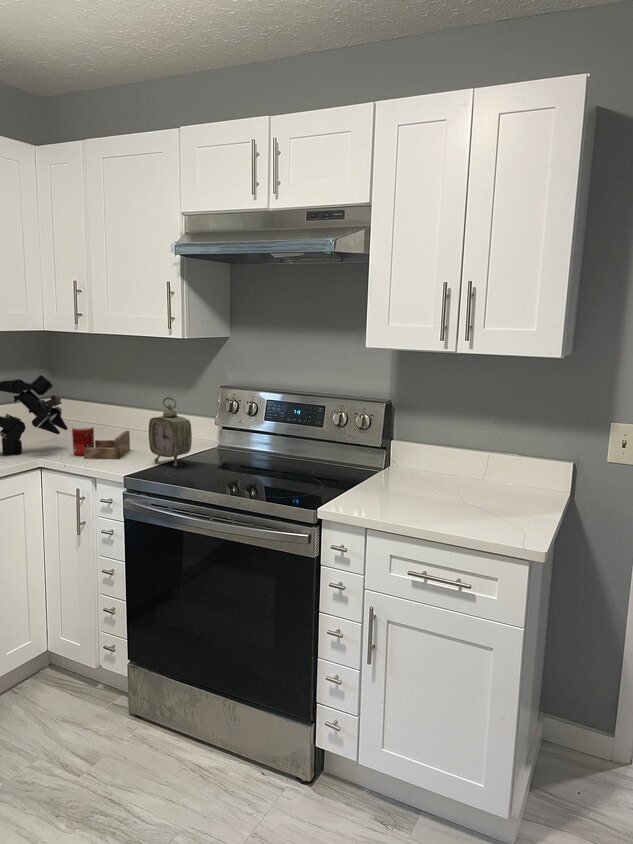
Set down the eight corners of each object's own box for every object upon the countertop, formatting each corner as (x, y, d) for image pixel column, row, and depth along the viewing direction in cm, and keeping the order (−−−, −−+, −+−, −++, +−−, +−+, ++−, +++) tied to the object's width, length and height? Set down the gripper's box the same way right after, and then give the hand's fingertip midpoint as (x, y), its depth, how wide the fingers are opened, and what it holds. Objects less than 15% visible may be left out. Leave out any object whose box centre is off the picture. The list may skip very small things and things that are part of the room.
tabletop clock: (149, 462, 241) (147, 396, 236) (167, 458, 248) (166, 394, 244) (175, 468, 232) (174, 400, 228) (194, 464, 240) (193, 398, 235)
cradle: (84, 458, 245) (83, 438, 244) (96, 449, 261) (95, 430, 260) (119, 458, 246) (119, 438, 244) (129, 449, 262) (129, 430, 260)
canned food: (88, 456, 249) (87, 428, 247) (69, 455, 250) (68, 427, 248) (98, 452, 256) (97, 425, 254) (79, 451, 257) (78, 424, 255)
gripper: (38, 392, 243) (69, 421, 246) (55, 386, 262) (84, 414, 264) (18, 412, 244) (49, 441, 247) (36, 405, 263) (65, 432, 265)
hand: (63, 431), depth 256 cm, fingers open, 9 cm apart
